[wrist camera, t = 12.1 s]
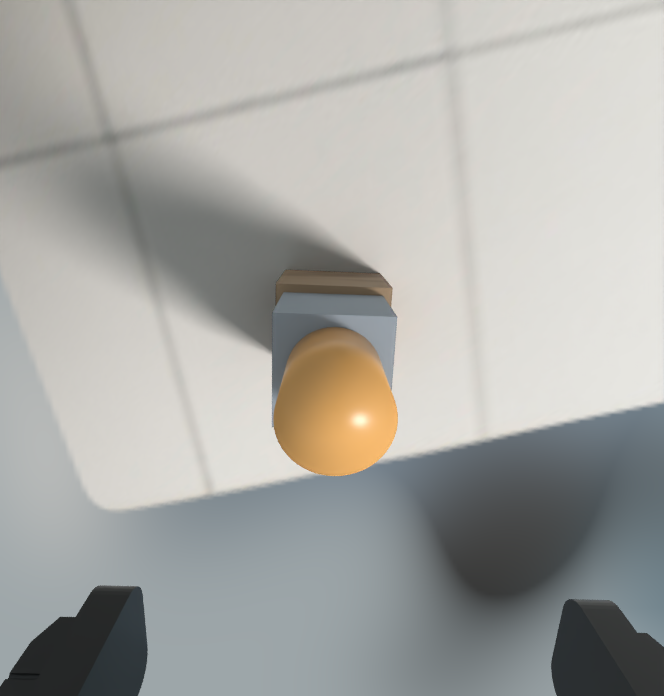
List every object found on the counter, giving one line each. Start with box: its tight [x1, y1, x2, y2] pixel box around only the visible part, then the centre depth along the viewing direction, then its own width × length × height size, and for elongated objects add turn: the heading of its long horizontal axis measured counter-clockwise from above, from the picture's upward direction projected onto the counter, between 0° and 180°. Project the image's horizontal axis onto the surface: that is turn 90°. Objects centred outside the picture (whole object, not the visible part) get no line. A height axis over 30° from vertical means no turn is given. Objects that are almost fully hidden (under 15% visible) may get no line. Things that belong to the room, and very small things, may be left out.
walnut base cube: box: [276, 270, 392, 307], centre depth 33 cm, size 7×7×7 cm
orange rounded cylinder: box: [273, 327, 398, 476], centre depth 21 cm, size 5×5×6 cm
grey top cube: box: [272, 292, 397, 427], centre depth 26 cm, size 6×6×6 cm
